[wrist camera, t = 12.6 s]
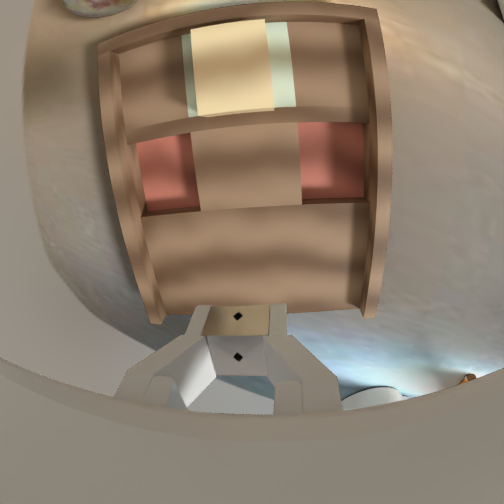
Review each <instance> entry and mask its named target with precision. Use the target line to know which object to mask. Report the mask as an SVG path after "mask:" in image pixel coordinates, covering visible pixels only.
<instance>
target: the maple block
mask: <svg viewBox="0 0 504 504" xmlns="http://www.w3.org/2000/svg"><path fill="white" fill-rule="evenodd" d="M190 31H191V45H192V57H193V69H194V80H195V91H196V101H197V110H198V116H203V117H215V116H223V115H231V114H240V113H250V112H262V111H274V98H273V88H272V78H271V69H270V59H269V51H268V42H267V34H266V26H265V19H260V20H248V21H239V22H231V23H224V24H218V25H212V26H206V27H201V28H196V29H191V30H190Z"/></svg>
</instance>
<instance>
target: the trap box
mask: <svg viewBox="0 0 504 504" xmlns="http://www.w3.org/2000/svg"><path fill="white" fill-rule="evenodd" d="M260 19H265V26H266V34H267V42H268V51H269V59H270V69H271V78H272V88H273V98H274V111H262V112H250V113H240V114H231V115H223V116H215V117H203V116H198V110H197V101H196V91H195V80H194V69H193V57H192V45H191V31H190V30H191V29H196V28H201V27H206V26H212V25H218V24H224V23H231V22H239V21H248V20H260ZM98 81H99V97H100V108H101V118H102V127H103V135H104V143H105V149H106V156H107V162H108V168H109V174H110V179H111V184H112V189H113V194H114V199H115V204H116V208H117V213H118V217H119V221H120V225H121V229H122V233H123V237H124V241H125V245H126V248H127V252H128V255H129V259H130V262H131V266H132V269H133V272H134V276H135V279H136V282H137V285H138V288H139V291H140V294H141V297H142V300H143V303H144V306H145V309H146V312H147V314H148V317H149V320H150V323H151V324H162V323H163V321H164V319H165V317H166V315H193V313H194V311H195V308H196V307H197V306H198V305H264V304H275V303H286V311H287V313H302V312H319V311H333V310H346V309H357V308H360V311H361V314H362V316H363V319H364V318H373V317H375V316H376V311H377V306H378V301H379V296H380V290H381V284H382V278H383V272H384V265H385V258H386V250H387V241H388V232H389V221H390V209H391V192H392V117H391V101H390V90H389V80H388V71H387V63H386V56H385V49H384V43H383V38H382V32H381V27H380V22H379V17H378V13H377V9H374V8H368V7H361V6H354V5H345V4H335V3H321V2H269V3H254V4H244V5H235V6H228V7H221V8H215V9H209V10H204V11H199V12H194V13H190V14H185V15H181V16H177V17H173V18H169V19H166V20H162V21H159V22H155V23H152V24H149V25H146V26H143V27H140V28H137V29H134V30H131V31H129V32H126V33H123V34H121V35H118V36H116V37H113V38H111V39H108V40H106V41H104V42H101V43H99V44H98Z"/></svg>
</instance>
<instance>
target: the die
mask: <svg viewBox="0 0 504 504" xmlns="http://www.w3.org/2000/svg"><path fill="white" fill-rule="evenodd" d="M497 2H498V4H499V7H500V10H501V13H502V16H503V20H504V0H497Z"/></svg>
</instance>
